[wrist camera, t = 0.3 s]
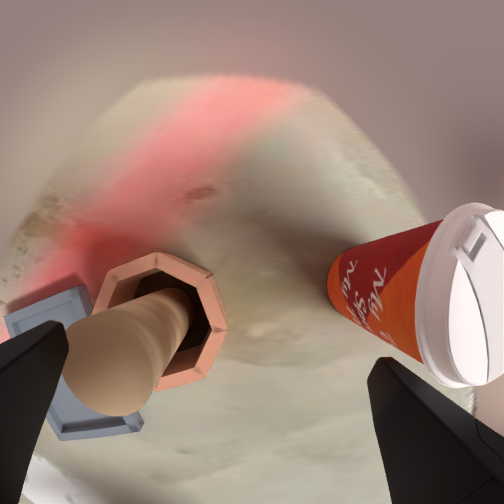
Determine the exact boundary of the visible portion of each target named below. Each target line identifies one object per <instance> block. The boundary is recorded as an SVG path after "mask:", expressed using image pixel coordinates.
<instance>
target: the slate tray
mask: <svg viewBox="0 0 504 504" xmlns="http://www.w3.org/2000/svg"><path fill="white" fill-rule="evenodd" d="M92 311H93V307H92V304H91V301H90V298H89V295H88V292H87V289H86V286H85V285H82V286H76V287H73V288H71V289H68V290H66V291H63V292H61V293H59V294H56V295H54V296H51V297H49V298H46V299H44V300H42V301H39V302H37V303H34V304H32V305H30V306H27V307H25V308H22V309H20V310H18V311H15V312H13V313H11V314H8V315H6V316H4V319H5V322H6V325H7V328H8V331H9V334H10V337H11V338H13V337H15V336H17V335H19V334H21V333H23V332H25V331H27V330H29V329H31V328H34V327H36V326H38V325H40V324H42V323H44V322H46V321H48V320H55V321H59V322H61V323H62V324H63V325H64V328H65V331H66V329H67V328H68V327H69V326H70V325H71V324H73V323H74V322H76V321H78V320H80V319H82V318H85V317H88V316H91V314H92ZM46 418H47V420H48V422H49V424H50V425H51V427H52V429H53V430H54V432H55V434H56V435H57V437H58V439H59V440H60V441H68V440H80V439H90V438H99V437H106V436H114V435H120V434H127V433H133V432H138V431H140V430H141V428H142V426H143V424H144V421H143V419H142V417H141V416H140V414H139V412H138V410H137V411H136V412H134V413H132V414H129V415H125V416H109V415H104V414H101V413H99V412H96V411H94V410H92V409H90V408H89V407H87V406H86V405H84V404H83V403H82V402H81V401H80V400H79V399H78V398H77V397H76V396H75V395H74V394H73V393H72V392H71V390H70V389H69V387H68V386H67V384H66V382H65V380H64V378H63V376H62V373H61V376H60V379H59V383H58V386H57V389H56V392H55V395H54V397H53V400H52V402H51V405H50V407H49V410H48V412H47V415H46Z"/></svg>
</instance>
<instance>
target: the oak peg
mask: <svg viewBox="0 0 504 504" xmlns="http://www.w3.org/2000/svg"><path fill="white" fill-rule="evenodd" d="M194 317H195V309H194V305H193V302H192V300H191V299H190V297H189V296H188V295H187V294H186V293H184V292H183V291H181V290H179V289H176V288H164V289H161V290H159V291H156V292H153V293H150V294H148V295H145V296H142V297H140V298H137V299H134V300H131V301H129V302H126V303H123V304H121V305H118V306H115V307H112V308H110V309H107V310H104V311H101V312H99V313H96V314H93V315H91V316H88V317H85V318H82V319H80V320H78V321H76V322H74V323H73V324H71V325H70V326H69V327H68V328H67V329H66V331H65V332H66V336H67V339H68V343H69V352H68V355H67V358H66V361H65V364H64V367H63V370H62V376H63V378H64V380H65V382H66V384H67V386H68V387H69V389H70V390H71V392H72V393H73V394H74V395H75V396H76V397H77V398H78V399H79V400H80V401H81V402H82V403H83V404H84V405H86V406H87V407H89V408H90V409H92V410H94V411H96V412H99V413H101V414H104V415H109V416H125V415H129V414H132V413H134V412H136V411H137V410H139V409H140V408H141V407H142V406H143V405H144V404H145V403H146V401H147V400H148V398H149V396H150V395H151V393H152V391H153V390H154V388H155V386H156V384H157V383H158V381H159V379H160V378H161V376H162V374H163V372H164V371H165V369H166V367H167V366H168V364H169V362H170V361H171V359H172V357H173V355H174V354H175V352H176V350H177V349H178V347H179V345H180V344H181V342H182V340H183V339H184V337H185V335H186V333H187V332H188V330H189V328H190V327H191V325H192V323H193V321H194Z"/></svg>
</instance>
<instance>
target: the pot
mask: <svg viewBox="0 0 504 504" xmlns="http://www.w3.org/2000/svg"><path fill="white" fill-rule="evenodd" d="M160 271H164V272H166V273H168V274H170V275H172V276H174V277H176V278H178V279H180V280H182V281H184V282H186V283H188V284H190V285H192V286H194V287H196V288H197V291H198V294H199V296H200V299H201V302H202V305H203V307H204V310H205V312H206V315H207V318H208V320H209V323H210V325H211V326H210V328H209V330H208V332H207V335H206V337H205V339H204V341H203V343H202V345H199V346H196V347H193V348H190V349H187V350H184V351H181V352H177V353H175V354H174V355H173V357H172V359H171V361H170V362H169V364H168V366H167V367H166V369H165V371H164V372H163V374H162V376H161V378H160V379H159V381H158V383H157V384H156V386H155V388H154V391H156V389H157V391H161V390H165V389H169V388H173V387H176V386H180V385H183V384H187V383H190V382H194V381H197V380H200V379H204V376H205V377H206V376H207V374H208V371H209V369H210V367H211V365H212V363H213V361H214V359H215V357H216V355H217V353H218V351H219V349H220V347H221V344H222V342H223V340H224V338H225V336H226V334H227V332H228V314H227V312H226V309H225V306H224V304H223V301H222V298H221V296H220V293H219V290H218V287H217V285H216V282H215V279H214V276H213V275H211V274H212V273H210V272H208V271H205V270H203V269H201V268H199V267H197V266H195V265H193V264H191V263H189V262H187V261H185V260H183V259H181V258H179V257H177V256H175V255H170V254H165V253H160V252H154V253H152V254H149V255H146V256H144V257H141V258H138V259H136V260H133V261H130V262H128V263H125V264H123V265H120V266H118V267H115V268H112V269H110V270H109V271H108V272H107V274H106V277H105V279H104V282H103V284H102V287H101V290H100V292H99V295H98V297H97V300H96V303H95V306H94V308H93V311H92V314H91V315H93V314H96V313H99V312H101V311H104V310H107V309H110V308H112V307H115V306H118V305H121V304H123V303H126V302H129V301H131V300H133V297H134V295H135V293H136V290H137V288H138V285H139V283H140V281H141V278H143V277H146V276H149V275H151V274H154V273H157V272H160Z"/></svg>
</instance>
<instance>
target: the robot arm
mask: <svg viewBox="0 0 504 504" xmlns="http://www.w3.org/2000/svg"><path fill="white" fill-rule="evenodd" d="M68 352H69V343H68V339H67V336H66V332H65V328H64V325H63V324H62V323H61V322H59V321H55V320H48V321H46V322H44V323H42V324H40V325H38V326H36V327H34V328H31V329H29V330H27V331H25V332H23V333H21V334H19V335H17V336H15V337H13V338H11V339H9V340H7V341H5V342H3V343H1V344H0V504H18V503H19V500H20V496H21V492H22V488H23V484H24V480H25V477H26V473H27V470H28V467H29V463H30V460H31V457H32V454H33V451H34V448H35V445H36V442H37V439H38V436H39V434H40V431H41V428H42V425H43V423H44V420H45V418H46V415H47V412H48V410H49V407H50V405H51V402H52V400H53V397H54V395H55V392H56V389H57V386H58V383H59V379H60V376H61V373H62V370H63V367H64V364H65V361H66V358H67V355H68ZM367 386H368V391H369V397H370V404H371V410H372V417H373V423H374V428H375V432H376V436H377V440H378V444H379V448H380V452H381V456H382V460H383V464H384V469H385V473H386V477H387V482H388V487H389V491H390V496H391V501H392V504H504V437H503V436H501V435H500V434H498V433H497V432H495V431H494V430H492V429H491V428H489V427H488V426H486V425H485V424H483V423H482V422H481V421H479V420H478V419H475V417H474V416H472V415H471V414H470V413H468V412H467V411H465V410H464V409H463V408H461V407H460V406H459V405H457V404H456V403H454V402H453V401H452V400H450V399H449V398H447V397H446V396H445V395H443V394H442V393H441V392H439V391H438V390H436V389H435V388H434V387H432V386H431V385H430V384H428V383H427V382H425V381H424V380H423V379H421V378H420V377H418V376H417V375H416V374H414V373H413V372H412V371H410V370H409V369H407V368H406V367H405V366H403V365H402V364H401V363H399V362H398V361H396V360H395V359H394V358H392V357H380V358H379V359H377V361H376V363H375V365H374V367H373V369H372V370H371V372H370V374H369V376H368V380H367Z"/></svg>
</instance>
